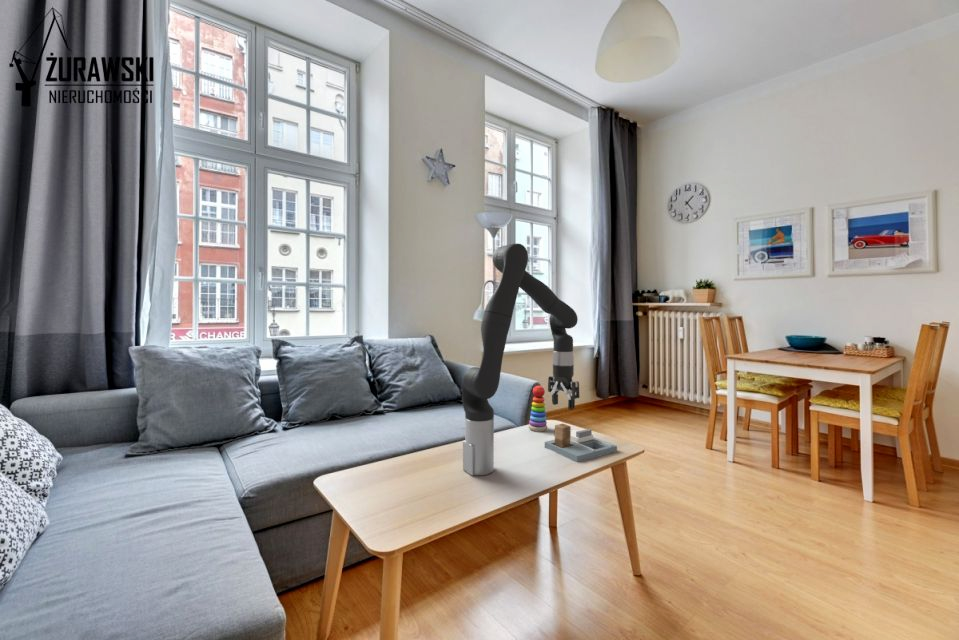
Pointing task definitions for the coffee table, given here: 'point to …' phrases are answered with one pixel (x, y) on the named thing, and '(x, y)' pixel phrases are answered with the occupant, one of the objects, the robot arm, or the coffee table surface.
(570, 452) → the puzzle board
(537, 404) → the stacking toy
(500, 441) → the coffee table surface
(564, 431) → the walnut post
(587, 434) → the lid
